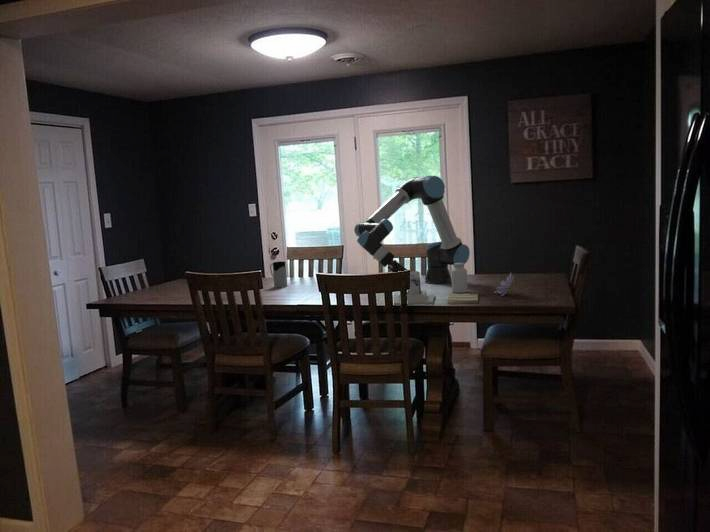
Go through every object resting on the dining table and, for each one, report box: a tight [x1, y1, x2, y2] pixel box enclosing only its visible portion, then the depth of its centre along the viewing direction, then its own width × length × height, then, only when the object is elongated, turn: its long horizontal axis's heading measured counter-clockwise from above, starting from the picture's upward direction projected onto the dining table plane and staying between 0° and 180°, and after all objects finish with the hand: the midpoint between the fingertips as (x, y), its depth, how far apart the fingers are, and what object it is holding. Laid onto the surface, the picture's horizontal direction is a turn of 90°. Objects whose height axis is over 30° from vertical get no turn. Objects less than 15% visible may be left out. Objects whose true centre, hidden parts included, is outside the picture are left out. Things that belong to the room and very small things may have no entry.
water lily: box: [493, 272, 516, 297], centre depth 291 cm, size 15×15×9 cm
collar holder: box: [392, 290, 436, 306], centre depth 290 cm, size 20×20×4 cm
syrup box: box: [407, 270, 422, 295], centre depth 289 cm, size 6×6×14 cm
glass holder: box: [269, 261, 289, 288], centre depth 360 cm, size 9×14×15 cm, turn 41°
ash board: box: [447, 293, 479, 305], centre depth 285 cm, size 18×14×1 cm
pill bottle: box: [450, 263, 468, 294], centre depth 305 cm, size 8×8×15 cm
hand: (416, 285), depth 289 cm, fingers open, 13 cm apart
